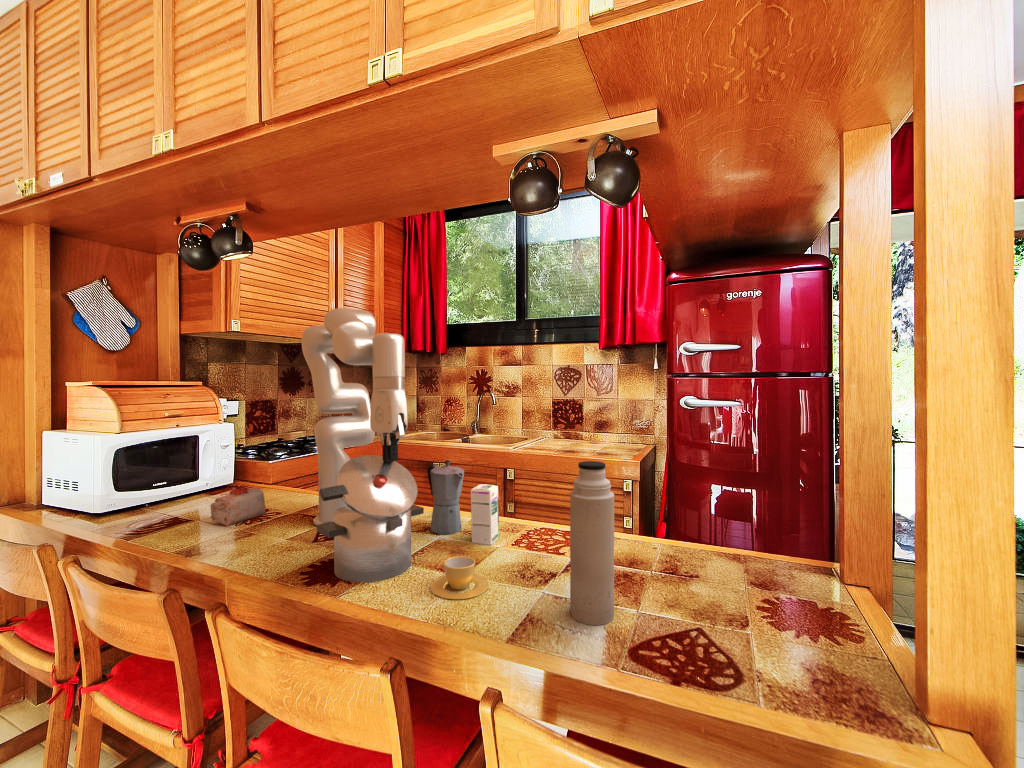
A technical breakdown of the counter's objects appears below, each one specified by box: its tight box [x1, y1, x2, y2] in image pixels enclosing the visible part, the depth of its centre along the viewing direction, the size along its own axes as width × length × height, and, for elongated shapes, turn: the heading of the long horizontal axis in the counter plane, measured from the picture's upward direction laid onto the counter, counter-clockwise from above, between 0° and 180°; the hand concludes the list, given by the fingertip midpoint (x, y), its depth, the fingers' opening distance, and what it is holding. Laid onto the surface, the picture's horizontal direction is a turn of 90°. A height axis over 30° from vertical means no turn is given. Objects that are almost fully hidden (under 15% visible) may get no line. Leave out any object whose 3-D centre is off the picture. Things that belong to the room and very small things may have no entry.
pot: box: [316, 503, 425, 583], centre depth 106 cm, size 18×24×13 cm
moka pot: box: [426, 460, 465, 535], centre depth 131 cm, size 10×15×20 cm, turn 53°
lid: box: [318, 454, 418, 519], centre depth 103 cm, size 18×22×3 cm
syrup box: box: [470, 483, 500, 546], centre depth 123 cm, size 6×6×14 cm
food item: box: [209, 487, 266, 527], centre depth 141 cm, size 14×8×10 cm, turn 157°
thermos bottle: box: [569, 460, 615, 626], centre depth 85 cm, size 8×8×28 cm
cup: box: [430, 555, 489, 600], centre depth 96 cm, size 12×12×5 cm
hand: (390, 461), depth 111 cm, fingers closed
